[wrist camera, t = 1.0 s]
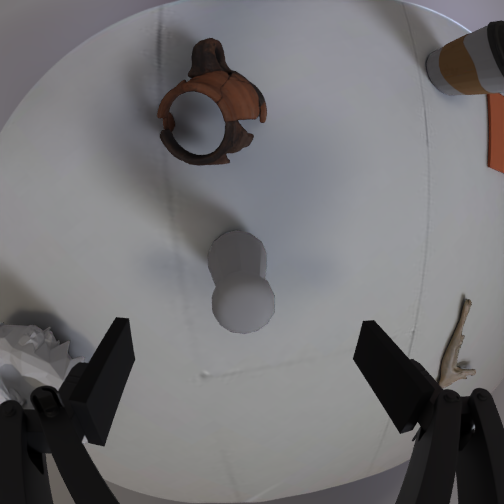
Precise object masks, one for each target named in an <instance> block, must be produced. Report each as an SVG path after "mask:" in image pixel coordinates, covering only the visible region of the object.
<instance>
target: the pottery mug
mask: <svg viewBox="0 0 504 504" xmlns="http://www.w3.org/2000/svg"><path fill="white" fill-rule="evenodd" d="M188 77H190V78H192V79H190V81H188V82H187V81H186V80H183V81H181V82H180V83H179V84H178V85H177V86H176V87H174V88H173V89H172V90H170V91H169V92H168V93H167V94H166V95H165V96H164V98H163V99H162V101H161V103H160V105H159V108H158V113H157V117H158V118H163V126H164V129H165V130H162V131H161V134H160V139H161V141H162V143H163V144H164V146H165V147H166V148H167V149H168V151H169V152H170V153H171V154H172V155H173V156H174V157H176V158H178V159H179V160H181V161H184V162H186V163H188V164H192V165H219V164H227V163H230V160H229V159H228V158H227V155H226V154H227V153H235V152H238V151H240V150H241V149H242V148H244V147H247V146H249V145H250V143H251V142H252V140H253V137H254V135H253V134H250V133H247V131H246V130H245V129H244V128H243V127H242V126H241V124H240V123H239V122H238V120H245V119H256V118H257V117H258V116H259V113H260V122H261V123H264V122H265V121H266V116H267V108H266V103H265V99H264V97H263V95H262V93H261V92H260V90H259V89H258V88H257V87H256V86H255V85H254V84H252V83H251V82H250V81H248V80H247V79H246V78H245V77H244V76H242V75H241V74H239V73H238V72H236V71H233V70H230V68H229V67H228V66H227V64H226V61H225V56H224V50H223V47H222V45H221V43H220V42H219V41H218V40H215V39H213V38H208V39H205V40H201V41H199V42H198V43H197V44H196V45H195V46H194V48H193V51H192V67H191V70H190V71H189V73H188ZM190 91H195V92H200V93H202V94H205V95H207V96H208V97H210V98H211V99H212V100H213V101H214V102H215V103H216V104H217V105H218V107H219V108H220V110H221V112H222V115H223V118H224V121H225V134H224V138H223V140H222V142H221V144H220V146H219V147H218V148H217V149H216V150H215V151H214V152H212V153H210V154H207V155H196V154H193V153H190V152H188V151H187V150H185V149H183V148H182V147H181V146H180V145H179V144H178V143H177V142H176V140H175V139H174V137H173V134H172V131H173V129H174V127H175V121H174V118H173V115H172V114H171V113H170V112H169V110H170V107H171V105H172V103H173V101H174V100H175V99H176V98H177V97H178V96H179V95H181V94H183V93H186V92H190ZM259 107H260V111H259Z"/></svg>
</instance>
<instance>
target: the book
mask: <svg viewBox="0 0 504 504" xmlns="http://www.w3.org/2000/svg"><path fill="white" fill-rule="evenodd" d="M487 99H488V121H489V147H488V167H490V168H492V169H495V170H497V171H499V172H502V173H504V96H502V95H501V94H499V93H495V94H487Z"/></svg>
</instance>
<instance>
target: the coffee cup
mask: <svg viewBox="0 0 504 504" xmlns="http://www.w3.org/2000/svg"><path fill="white" fill-rule="evenodd" d="M427 72H428V75H429V77H430V79H431V81H432V83H433V84H434V86H435V87H436V88H437V89H438V90H439V91H441V92H442V93H445V94H447V95H475V94H495V93H504V21H496V22H490V23H489V24H488V26H485V27H483V28H481V29H479V30H477V31H475V32H472V33H470V34H466V35H464V36H462V37H460V38H458V39H456V40H454V41H452V42H450V43H448V44H446V45H445V46H444V47H442V48H440V49H438V50H436V51H434V52H433V53H431V54H430V55H429V58H428V60H427Z"/></svg>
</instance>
